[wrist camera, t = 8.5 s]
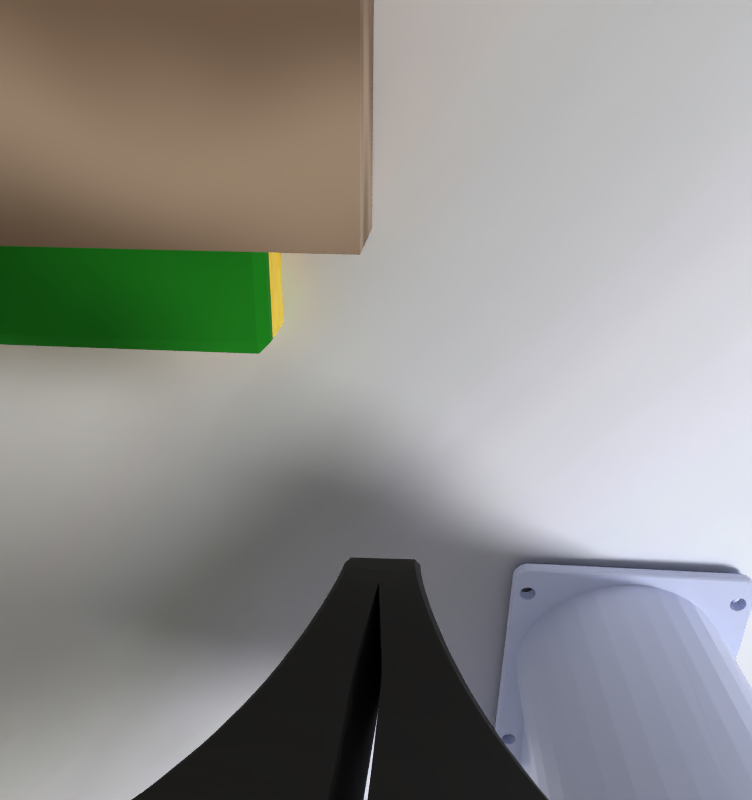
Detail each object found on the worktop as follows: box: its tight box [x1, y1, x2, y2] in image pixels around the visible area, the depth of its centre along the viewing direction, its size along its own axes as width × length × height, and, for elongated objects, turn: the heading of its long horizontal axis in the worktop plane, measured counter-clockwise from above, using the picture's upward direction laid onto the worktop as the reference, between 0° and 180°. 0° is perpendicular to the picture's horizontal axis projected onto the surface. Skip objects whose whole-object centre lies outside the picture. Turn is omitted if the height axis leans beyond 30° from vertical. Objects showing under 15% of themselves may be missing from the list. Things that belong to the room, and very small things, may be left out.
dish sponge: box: [0, 246, 283, 354], centre depth 18 cm, size 7×14×2 cm, turn 89°
